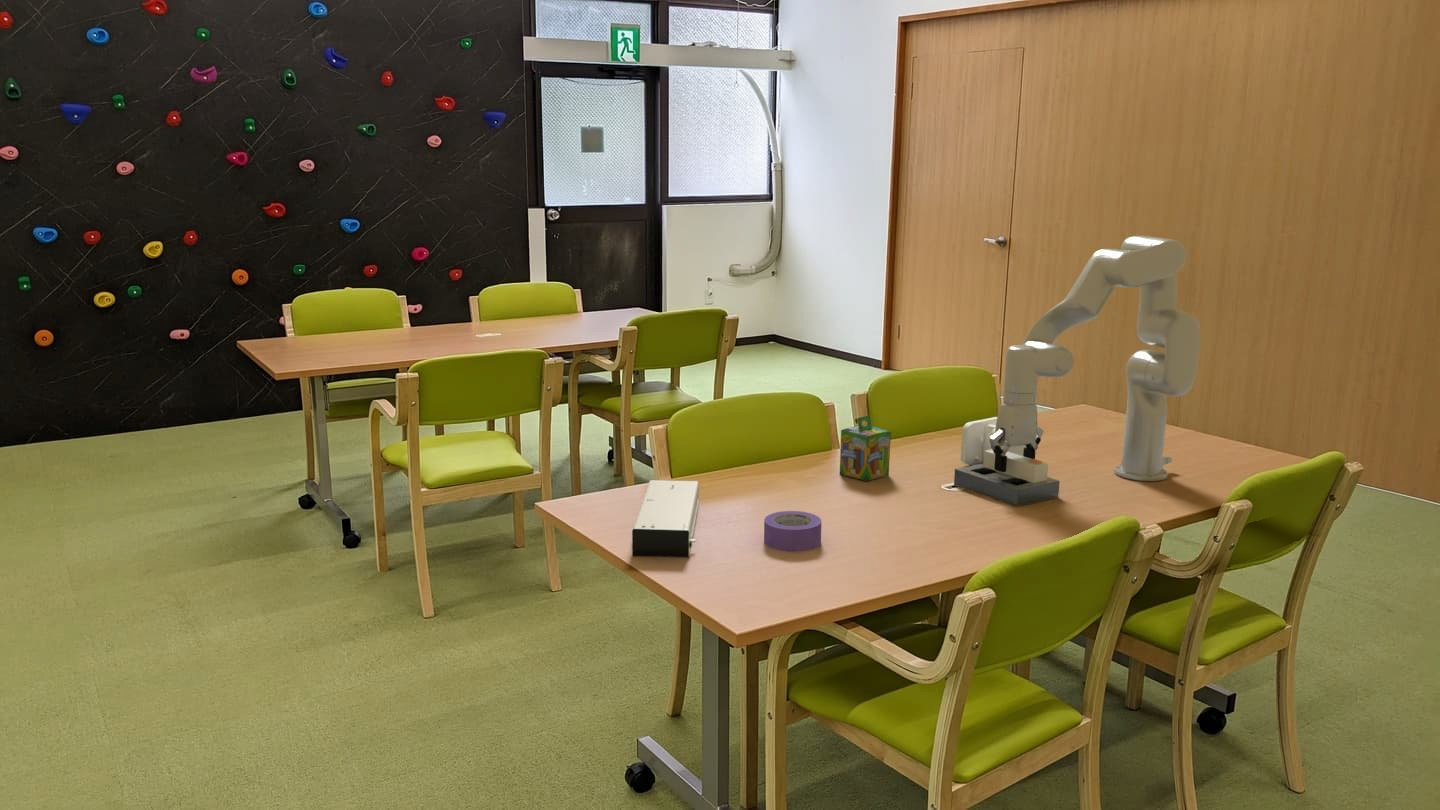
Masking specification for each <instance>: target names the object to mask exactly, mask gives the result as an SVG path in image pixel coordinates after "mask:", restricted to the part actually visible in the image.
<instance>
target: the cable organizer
mask: <svg viewBox="0 0 1440 810" xmlns="http://www.w3.org/2000/svg"><path fill="white" fill-rule="evenodd" d="M996 421H997V416H993V417H989V418H983V419H979V420H973V421H968V422H966V423H965V424H964V425H963V426H962V429H961V431H962V433H961V445H960V446H961V447H960V449H961V450H960V461H961V463H962V464H965V465H968V466H973V465H978V464H982V463H983V461H984V451H986V450H991V444H990V441H989V439H990V437H992V436H993V435H994V434H995V428H996ZM1003 448H1004V446H1002V447H1001V449H1002V450H1003ZM1024 448H1027V447H1026V446H1025V445H1022V446H1016V447H1010V448H1009V450H1008V451H1007V452H1011V453H1014V454H1017V455H1021V456H1023V452H1024Z"/></svg>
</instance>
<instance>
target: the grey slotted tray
mask: <svg viewBox="0 0 1440 810" xmlns="http://www.w3.org/2000/svg"><path fill="white" fill-rule="evenodd" d="M953 477H954V479H953V485H954V486H956V487H958V488H962V489H964V490H968V491H970V492H973V493H976V494H979V495H982V496H984V497H988V498H990V499H994V500H995V501H999V502H1002V503H1005V504H1008V505H1011V506H1014V507H1016V508H1018V507H1022V506H1027V505H1031V504H1035V503H1039V502H1044V501H1048V500H1052V499H1056V498H1059V491H1060V483H1061V481H1060V480H1059V479H1055V478H1051V477H1049V476H1047V480H1045V481H1041V482H1036V483H1033V482H1029V481H1026V480H1023V479H1020V478H1017V477H1014V476H1011V475H1008V474H1004V473H1001V472H998V471H995V470H992V469H989V468H986V467H983V463H979V464H977V465H972V466H971V465H968V466H964V467H958V468H955V469H954V476H953Z"/></svg>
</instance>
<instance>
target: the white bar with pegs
mask: <svg viewBox="0 0 1440 810" xmlns="http://www.w3.org/2000/svg"><path fill="white" fill-rule="evenodd" d="M1005 456H1007V467H1006V472H1001V473H1004V474H1008V475H1011V476H1014V477H1017V478H1020V479H1023V480H1026V481H1029V482H1033V483H1036V482H1041V481H1045V480H1047V477H1048V470H1049V463H1047V462H1044V461H1042V460H1039V459H1036V458H1035V459H1031V458H1027V457H1024V456H1021V455H1017V454H1014V453H1011V452H1007V453H1006V454H1005ZM982 464H983V467H986V468H989V469H992V470H995V469H994V466H995V454H994V453H993V450H992V449H991V450H986V451H984V461H983V462H982ZM995 471H997V470H995ZM998 472H1000V471H998Z"/></svg>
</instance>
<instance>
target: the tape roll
mask: <svg viewBox="0 0 1440 810" xmlns="http://www.w3.org/2000/svg"><path fill="white" fill-rule="evenodd" d="M763 521H764V525H763V526H764V527H763V529H764V530H763V542H764V545H766V546H767V547H768V548H771V549H774V550H777V551H781V552H782V551H783V552H790V553H791V552H793V553H796V552H798V553H799V552H801V553H802V552H807V551H812V550H815V549H817V548H819V547H820V546H821V544H822V518H821V517H820V516H818V515H816V514H814V513H811V512H806V511H800V510H798V511H797V510H784V511H783V510H782V511H777V512H773V513H770V514H767V515H766V516H765V517H764V519H763Z"/></svg>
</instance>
